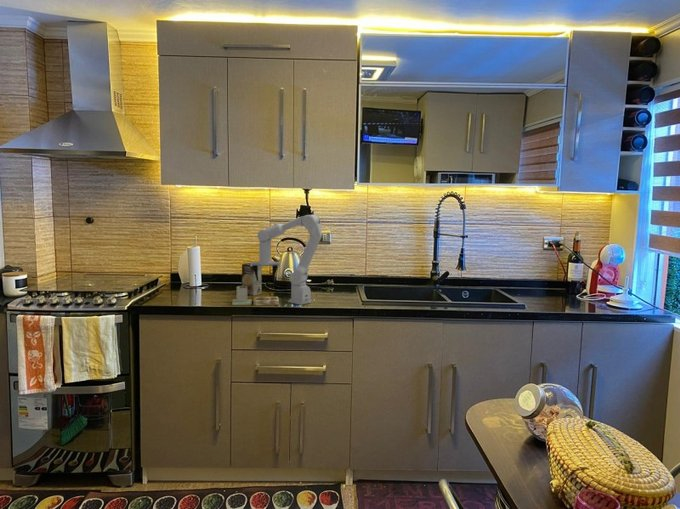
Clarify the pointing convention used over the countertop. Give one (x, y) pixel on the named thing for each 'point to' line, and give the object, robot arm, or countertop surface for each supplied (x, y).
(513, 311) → the countertop surface
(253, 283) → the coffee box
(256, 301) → the birch frame
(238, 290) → the knob-topped grey cube
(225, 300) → the countertop surface
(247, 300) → the rubber pad
